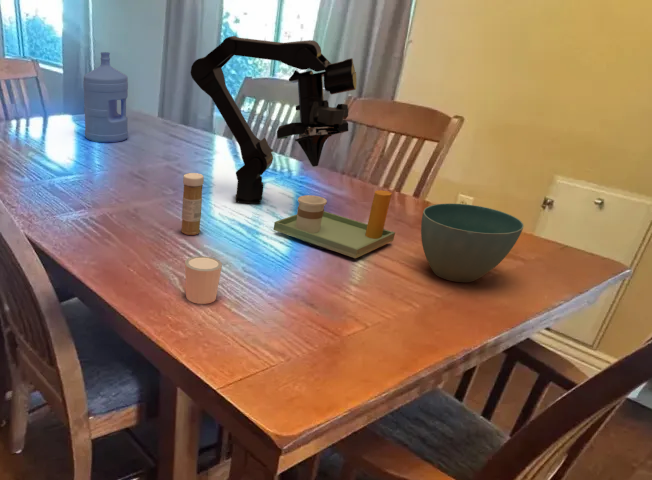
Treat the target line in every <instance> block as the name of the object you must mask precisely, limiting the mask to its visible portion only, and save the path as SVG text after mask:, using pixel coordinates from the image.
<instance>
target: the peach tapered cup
mask: <svg viewBox="0 0 652 480" xmlns="http://www.w3.org/2000/svg"><path fill="white" fill-rule="evenodd" d="M222 268H223V263H222V261H221V260H219V259H217V258H215V257H211V256H204V255H203V256H202V255H199V256H197V255H196V256H191V257H188V258H187V259H186V260H185V262H184V271H185V273H184V275H185V297H186V299H187V301H189V302H190V303H194V304H196V305H197V304H198V305H207V304H211V303H214V302H215V301H216V300H217V294H218V288H219V284H220V278H221V274H222Z"/></svg>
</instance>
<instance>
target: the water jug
mask: <svg viewBox="0 0 652 480" xmlns="http://www.w3.org/2000/svg"><path fill="white" fill-rule="evenodd" d="M110 54H111V52H106V51H105V52H104V51H102V52H100V65H99V66H98V67H95V68H94V69H92V70H91V71H88V72H87V73H85V74H84V75H83V82H82V83H83V84H82V85H83V86H82V87H83V99H84V101H83V102H84V103H83V104H84V106H83V112H84V136H85V138H86V139H87V140H88V141H91V142H94V143H105V144H106V143H118V142H123V141H125V140H127V139H128V137H129V131H128V116H127V98H128V96H129V95H128V93H129V92H128V90H129V81H128V80H129V79H128V75H127V74H125V73H123V72H122V71H120V70H118V69H116V68H114V67H113V66H111V58H110ZM118 101H120V113H118Z"/></svg>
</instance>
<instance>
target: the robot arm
mask: <svg viewBox="0 0 652 480" xmlns="http://www.w3.org/2000/svg"><path fill="white" fill-rule="evenodd" d="M234 56H238V57H247V58H253V59H261V60H267V61H268V60H269V61H275V62H276V61H277V62H280V63H282V64H285V65H286V66H289V67H291V68H295V70H293V73H292V74H291V75H290V76H289V78H288V81H289V82H290V83H292V84H295V83H297V93H298V94H297V95H298V105H295V111H299V122H290V123H286V124H282V125H280V126H278V127H277V130H276V139H277V140H283V139H288V138H289V137H292V136H296V135H298V138H295V139H294V142H297V144H298V145H299V146H300V148H301V149H302V151H303V152H304V154H305V156H306V157H307V159H308V161H309V163H310V165H311V167H318V166H319V163H320V160H321V156H322V151H323V149H324V145H325V143H326V141H328V139H329V138H330V137H332V136H334V135H338V134H343V133H346V132H349V122H348V121H347V120H346V119H348V118H349V106H348V104H346V103H338V104H337V105H336V106H335V107H331V106H330V105H329V104H330V103H329V101H328V99H325V98H324V90H325V92H329V94H330V95H331V96H332V95H336V94H340V93H341V94H342V93H346V92H351V91H355V90H357V71H356V68H355V64H354V59H353V58H352V57H351V58H347V59H345V60H341V61H337V62H333V63H331V61H330V60H329V59H328V58H327V57H326V56H325V55H324V54H323V53H322V48H321V46H320V44H319V42H317V41H316V40H312V39H309V40H296V41H288V42H281V41H271V40H263V39H262V40H261V39H253V38H246V37H238V36H237V35H232V36H228V37H226V38H224V39H223V41H222V42H220V44H219V45H217V46H216V47H215V48H214V49H213V50H211V51H209V53H207V54H206V55H205V56H202V57H200V58H197V59H196V60H194V62H193V63H192V65H191V67H190V76H191V78H192V80H193V81H194V82H195V83H196V85H197V86H198V88H199V89H200V90H202V91H203V92H204V93H205V94H206V95H208V97H210V99H211V100H212V102H213V103H214V105H215V107H216V109H217V110H218V112H219V114H220V115H221V117H222V118H223V120H224V122H225V123H226V125H227V127H228V129H229V131H230V132H231V134H232V136H233V138H234V139H235V140H236V143H237V144H238V146H239V150H240V155H241V159H242V161H243V165H242V166H241V167H240V168H238V169H237V170H236V171H235V176H236V180H237V184H236V192H235V203H237V204H250V205H251V204H252V205H254V204H255V205H261V201H262V200H263V194H264V186H265V185H264V182H263V177H262V175H263V174H264V173H265V172H266V171H267V170H268V169H270V167H271V166H272V164H273V160H274V156H273V153H272V152H273V151H274V150H273V149H272V148H271V147H270V146H269V143H268V140H267V139H266V137H263V138H262V139H261V140H260V139H259V138H258V137H257V136H256V135H255V134H254V132H253V130H252V128H251V127H250V125H249V124H248V121H247V120H246V118H245V117H244V115H243V114H242V112H241V109H240V108H239V106H238V104H237V103H236V101H235V100H234V97H233V96H232V94H231V92H230V91H229V89H228V87H227V85H226V80H225V74H224V71H223V69H222V68H223V67H224V66H226V64H227V63H228V62H229V61H230V60H231V59H232V58H233V57H234ZM298 70H301V71H302V72H299V71H298ZM305 70H306V71H305ZM315 72H316V73H315Z"/></svg>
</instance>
